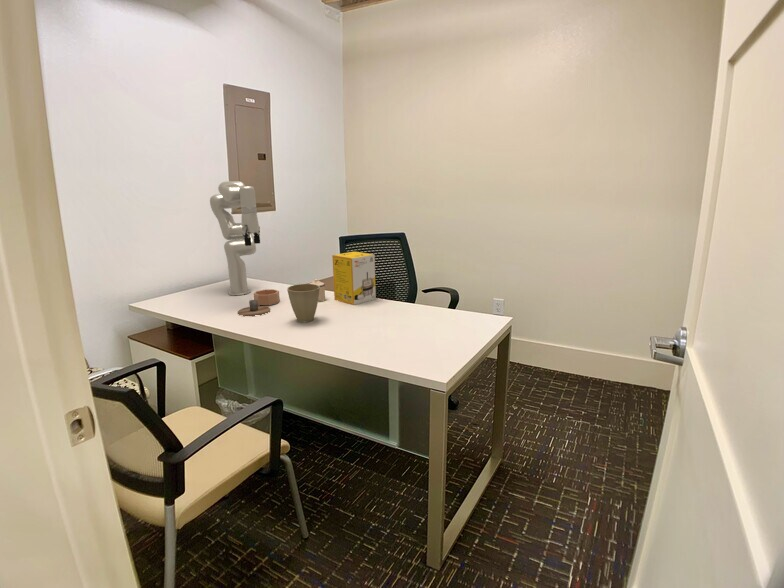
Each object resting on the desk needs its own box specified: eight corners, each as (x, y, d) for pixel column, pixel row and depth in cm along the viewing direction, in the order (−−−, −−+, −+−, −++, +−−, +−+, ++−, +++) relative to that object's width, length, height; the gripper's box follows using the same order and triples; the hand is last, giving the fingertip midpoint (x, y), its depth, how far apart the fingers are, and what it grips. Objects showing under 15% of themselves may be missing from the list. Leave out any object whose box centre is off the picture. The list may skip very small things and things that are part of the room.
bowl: (251, 303, 239) (249, 292, 237) (271, 298, 247) (270, 288, 246) (262, 307, 230) (261, 296, 229) (283, 302, 239) (282, 291, 237)
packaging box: (356, 294, 254) (354, 251, 248) (375, 299, 243) (374, 254, 237) (334, 299, 243) (332, 255, 236) (353, 305, 232) (351, 258, 225)
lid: (232, 312, 223) (230, 301, 222) (260, 306, 234) (259, 295, 233) (247, 319, 212) (246, 307, 211) (276, 312, 223) (275, 300, 222)
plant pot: (286, 325, 202) (283, 291, 198) (293, 315, 216) (291, 283, 212) (318, 324, 201) (316, 291, 197) (323, 314, 216) (322, 283, 212)
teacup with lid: (329, 299, 244) (327, 278, 241) (316, 302, 237) (315, 281, 234) (314, 296, 251) (313, 276, 248) (302, 299, 244) (300, 279, 242)
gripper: (250, 210, 233) (254, 242, 237) (233, 212, 217) (237, 246, 221) (263, 210, 232) (267, 242, 236) (247, 211, 215) (251, 246, 219)
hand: (252, 244), depth 228 cm, fingers open, 9 cm apart
